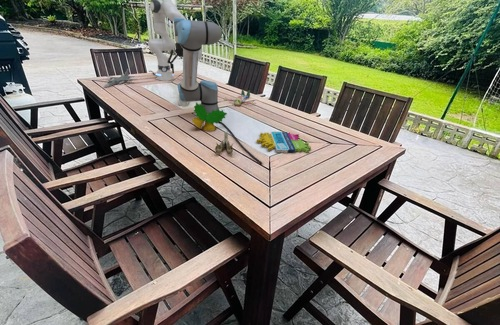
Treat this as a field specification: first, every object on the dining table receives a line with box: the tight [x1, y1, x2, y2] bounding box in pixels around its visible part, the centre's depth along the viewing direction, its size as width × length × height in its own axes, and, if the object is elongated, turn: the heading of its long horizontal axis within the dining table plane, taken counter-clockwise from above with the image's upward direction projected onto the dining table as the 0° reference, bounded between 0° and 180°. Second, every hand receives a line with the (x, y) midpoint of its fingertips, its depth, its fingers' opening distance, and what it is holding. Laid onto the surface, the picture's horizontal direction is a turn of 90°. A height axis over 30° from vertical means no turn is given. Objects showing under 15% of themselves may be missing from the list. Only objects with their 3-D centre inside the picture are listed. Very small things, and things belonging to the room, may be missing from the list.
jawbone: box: [214, 131, 234, 156], centre depth 136 cm, size 9×15×10 cm
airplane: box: [102, 68, 138, 88], centre depth 247 cm, size 38×31×10 cm
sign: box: [256, 131, 312, 154], centre depth 152 cm, size 26×2×30 cm
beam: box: [178, 95, 190, 107], centre depth 224 cm, size 59×6×8 cm, turn 4°
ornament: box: [191, 101, 228, 132], centre depth 162 cm, size 21×8×15 cm, turn 105°
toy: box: [223, 89, 257, 106], centre depth 219 cm, size 28×7×30 cm
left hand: (190, 63), depth 235 cm, fingers open, 8 cm apart
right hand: (182, 73), depth 195 cm, fingers open, 13 cm apart
